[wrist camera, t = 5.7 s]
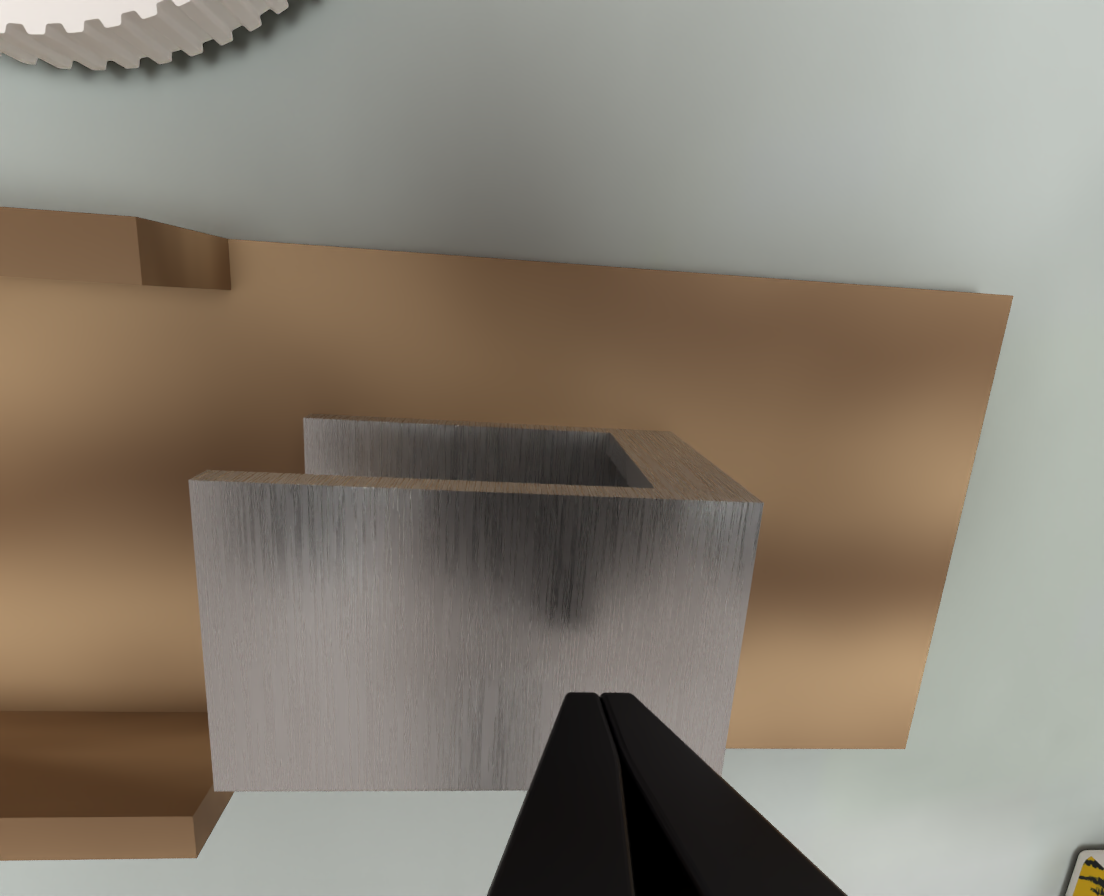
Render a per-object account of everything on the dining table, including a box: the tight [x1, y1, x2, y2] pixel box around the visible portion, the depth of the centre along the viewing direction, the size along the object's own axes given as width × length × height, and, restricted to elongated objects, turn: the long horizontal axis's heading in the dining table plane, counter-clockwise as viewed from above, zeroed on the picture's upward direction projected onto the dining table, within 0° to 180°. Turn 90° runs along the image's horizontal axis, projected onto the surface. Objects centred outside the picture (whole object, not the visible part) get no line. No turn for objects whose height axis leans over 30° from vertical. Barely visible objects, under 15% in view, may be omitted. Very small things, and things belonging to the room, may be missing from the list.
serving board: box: [0, 207, 1013, 861], centre depth 12 cm, size 12×28×4 cm, turn 86°
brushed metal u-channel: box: [188, 414, 764, 791], centre depth 11 cm, size 5×5×8 cm
